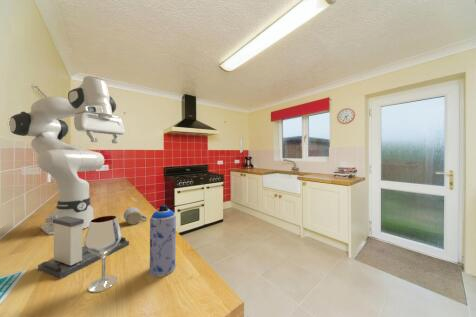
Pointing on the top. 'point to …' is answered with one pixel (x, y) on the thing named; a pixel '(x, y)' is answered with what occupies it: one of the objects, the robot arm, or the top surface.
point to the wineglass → (102, 247)
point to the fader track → (64, 270)
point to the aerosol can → (162, 242)
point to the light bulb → (133, 216)
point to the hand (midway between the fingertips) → (105, 142)
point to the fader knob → (68, 239)
